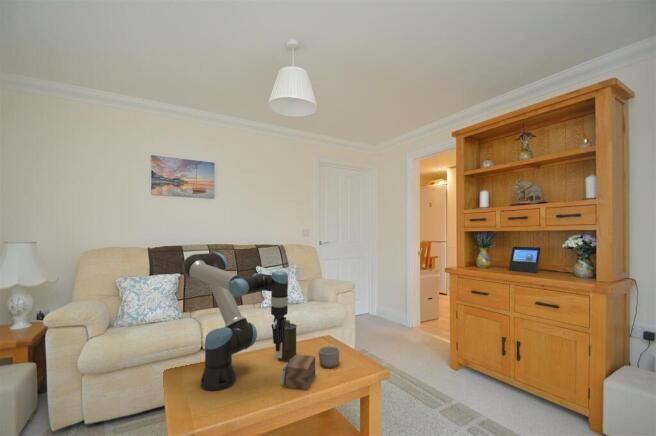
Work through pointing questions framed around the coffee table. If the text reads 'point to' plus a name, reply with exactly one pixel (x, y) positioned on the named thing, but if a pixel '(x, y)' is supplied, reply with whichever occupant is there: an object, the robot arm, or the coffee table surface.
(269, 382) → the coffee table surface
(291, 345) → the canister
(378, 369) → the coffee table surface
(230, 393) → the coffee table surface
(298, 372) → the block
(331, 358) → the teacup
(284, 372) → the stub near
